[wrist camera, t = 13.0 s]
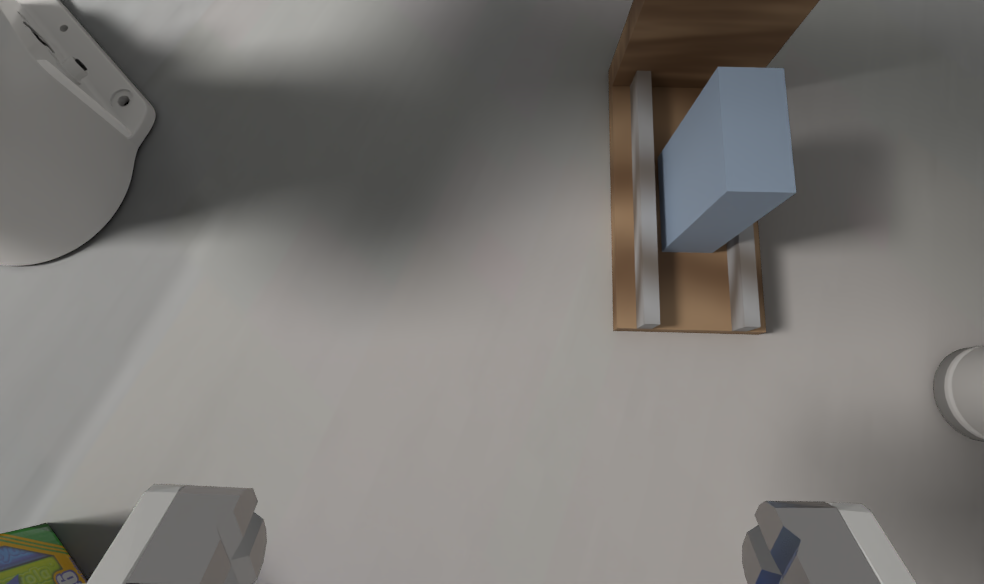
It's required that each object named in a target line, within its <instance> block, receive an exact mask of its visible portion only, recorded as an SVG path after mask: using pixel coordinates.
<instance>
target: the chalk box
mask: <svg viewBox="0 0 984 584" xmlns="http://www.w3.org/2000/svg"><path fill="white" fill-rule="evenodd" d="M87 582H88V581H87V580H86V579H85V577H84V576H83V574H82V573H81V571H80V570H79V569H78V567H77V566H76V565H75V562H74V561H73V560H72V558H71V557H70V555H69V554H68V552H67V551H66V549H65V548H64V547H63V546H62V543H61V542H60V541H59V539H58V538H57V537H56V534H54V533H53V530H52V529H51V528H50V526H49V525H48V524H47V523H44V524H40V525H36V526H32V527H28V528H24V529H19V530H15V531H11V532H6V533H2V534H0V584H76V583H87Z"/></svg>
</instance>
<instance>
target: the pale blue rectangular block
mask: <svg viewBox="0 0 984 584" xmlns="http://www.w3.org/2000/svg"><path fill="white" fill-rule="evenodd" d="M658 178H659V200H660V222H661V244H662V252H689V253H713V252H715V251H716V250H717V249H719V248H720V247H721V246H723V245H724V244H726V243H727V242H728V241H730V240H731V239H733V238H734V237H735V236H737V235H738V234H740V233H741V232H742V231H744V230H745V229H746V228H748V227H749V226H751V225H752V224H753V223H755V222H756V221H758V220H759V219H760V218H762V217H763V216H765V215H766V214H767V213H769V212H770V211H771V210H773V209H774V208H776V207H777V206H778V205H780V204H781V203H783V202H784V201H785V200H787V199H788V198H790V197H791V196H792V195H794V194H795V193H796V185H795V175H794V165H793V155H792V145H791V135H790V125H789V114H788V104H787V94H786V84H785V74H784V68H755V67H717V69H716V70H715V72H714V73H713V75H712V76H711V78H710V79H709V81H708V82H707V84H706V85H705V87H704V88H703V90H702V91H701V93H700V95H699V96H698V98H697V99H696V101H695V102H694V104H693V105H692V107H691V108H690V110H689V111H688V113H687V114H686V116H685V117H684V119H683V120H682V122H681V123H680V125H679V126H678V128H677V129H676V131H675V132H674V134H673V135H672V137H671V138H670V140H669V141H668V143H667V144H666V146H665V147H664V149H663V150H662V152H661V153H660V155H659V156H658Z"/></svg>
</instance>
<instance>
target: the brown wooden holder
mask: <svg viewBox="0 0 984 584" xmlns="http://www.w3.org/2000/svg"><path fill="white" fill-rule="evenodd" d="M818 2H819V0H633V3H632V6H631V9H630V12H629V14H628V17H627V20H626V23H625V26H624V29H623V31H622V34H621V37H620V40H619V43H618V46H617V48H616V51H615V54H614V57H613V60H612V63H611V65H610V68H609V123H610V176H611V228H612V281H613V331H644V332H682V333H720V334H761V333H765V332H766V323H765V310H764V297H763V283H762V270H761V257H760V243H759V230H758V221H756V222H755V223H753V224H752V225H751V226H749V227H748V228H746V229H745V230H744V231H742V232H741V233H740V234H738V235H737V236H735V237H734V238H733V239H731V240H730V241H728V242H727V243H726V244H724V245H723V246H721V247H720V248H719V249H717V250H716V251H715V252H713V253H689V252H662V244H661V222H660V200H659V178H658V156H659V155H660V153H661V152H662V150H663V149H664V147H665V146H666V144H667V143H668V141H669V140H670V138H671V137H672V135H673V134H674V132H675V131H676V129H677V128H678V126H679V125H680V123H681V122H682V120H683V119H684V117H685V116H686V114H687V113H688V111H689V110H690V108H691V107H692V105H693V104H694V102H695V101H696V99H697V98H698V96H699V95H700V93H701V91H702V90H703V88H704V87H705V85H706V84H707V82H708V81H709V79H710V78H711V76H712V75H713V73H714V72H715V70H716V69H717V67H755V68H766V67H767V65H768V64H769V63H770V62H771V60H772V59H773V58H774V57H775V55H776V54H777V53H778V52H779V50H780V49H781V48H782V47H783V45H784V44H785V43H786V42H787V40H788V39H789V38H790V37H791V35H792V34H793V33H794V32H795V30H796V29H797V28H798V27H799V25H800V24H801V23H802V22H803V20H804V19H805V18H806V17H807V15H808V14H809V13H810V12H811V10H812V9H813V8H814V7H815V5H816V4H817V3H818Z"/></svg>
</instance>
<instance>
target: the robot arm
mask: <svg viewBox="0 0 984 584" xmlns="http://www.w3.org/2000/svg"><path fill="white" fill-rule="evenodd" d="M128 101H129V103H128V105H126V106H124V104H125V103H126V102H128ZM155 117H156V114H155V110H154V108H153V106H152V105H151V104H150V103H149V102H148V100H147V99H146V98H145V97H144V96H143V95H142V94H141V92H140V91H139V90H138V89H137V88H136V87H135V86H134V84H133V83H132V82H131V81H130V80H129V79H128V78H127V76H126V75H125V74H124V73H123V72H122V71H121V70H120V69H119V67H118V66H117V65H116V64H115V63H114V62H113V61H112V59H111V58H110V57H109V56H108V55H107V54H106V53H105V51H104V50H103V49H102V48H101V47H100V46H99V45H98V43H97V42H96V41H95V40H94V39H93V38H92V37H91V35H90V34H89V33H88V32H87V31H86V30H85V29H84V27H83V26H82V25H81V24H80V23H79V22H78V21H77V19H76V18H75V17H74V16H73V15H72V14H71V13H70V11H69V10H68V9H67V8H66V7H65V6H64V5H63V4H62V2H61V1H60V0H0V265H9V266H21V265H31V264H37V263H42V262H45V261H49V260H52V259H55V258H58V257H60V256H62V255H65V254H67V253H69V252H71V251H73V250H74V249H76V248H78V247H79V246H81V245H82V244H84V243H85V242H87V241H88V240H89V239H91V238H92V237H93V236H94V235H96V234H97V233H98V232H99V231H100V230H101V229H102V228H103V227H104V226H105V225H106V224H107V223H108V221H109V220H110V219H111V218H112V216H113V215H114V214H115V212H116V211H117V209H118V208H119V206H120V204H121V203H122V201H123V199H124V197H125V195H126V192H127V190H128V187H129V184H130V181H131V177H132V172H133V167H134V162H135V157H136V153H137V150H138V148H139V146H140V145H141V143H142V142H143V140H144V139H145V137H146V136H147V134H148V133H149V131H150V129H151V128H152V125H153V123H154V121H155ZM257 503H258V500H257V498H256V495H255V492H254V490H253V488H235V487H214V486H194V485H171V484H154V485H153V486H151V487H150V488H149V489H148V490H147V491H145V492H144V493H143V495H142V496H141V498H140V500H139V501H138V503H137V504H136V506H135V507H134V509H133V511H132V512H131V514H130V515H129V517H128V519H127V520H126V522H125V523H124V525H123V526H122V528H121V530H120V531H119V533H118V534H117V536H116V538H115V539H114V541H113V542H112V544H111V545H110V547H109V549H108V550H107V552H106V553H105V555H104V557H103V558H102V560H101V561H100V563H99V565H98V566H97V568H96V569H95V571H94V572H93V574H92V576H91V577H90V579H89V580H88V582H87V583H76V584H252V583H254V582H255V581H256V580H257V578H258V575H259V573H260V570H261V567H262V564H263V561H264V555H265V549H266V544H267V537H266V527H265V523H264V520H263V519H262V518H261V517H260V516H258V515H257V514H256V513H254V510H255V508H256V505H257ZM755 517H756V520H757V522H758V524H759V525H758V526H756V527H755V528H753V529H751V530H750V531H748V532H747V534H746V537H745V539H744V542H743V545H742V564H743V568H744V573H745V577H746V580H747V583H748V584H917V583H916V581H915V580H914V578H913V577H912V575H911V574H910V572H909V570H908V569H907V567H906V566H905V564H904V563H903V561H902V559H901V558H900V556H899V555H898V553H897V552H896V550H895V548H894V547H893V545H892V544H891V542H890V541H889V539H888V537H887V536H886V534H885V533H884V531H883V530H882V528H881V526H880V525H879V523H878V522H877V520H876V519H875V517H874V515H873V514H872V512H871V511H870V510H869V509H868V508H867V507H866V506H864V505H863V504H859V503H826V502H808V501H765V502H763V503H762V504H760V505H759V506H758V509H757V511H756V513H755Z"/></svg>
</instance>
